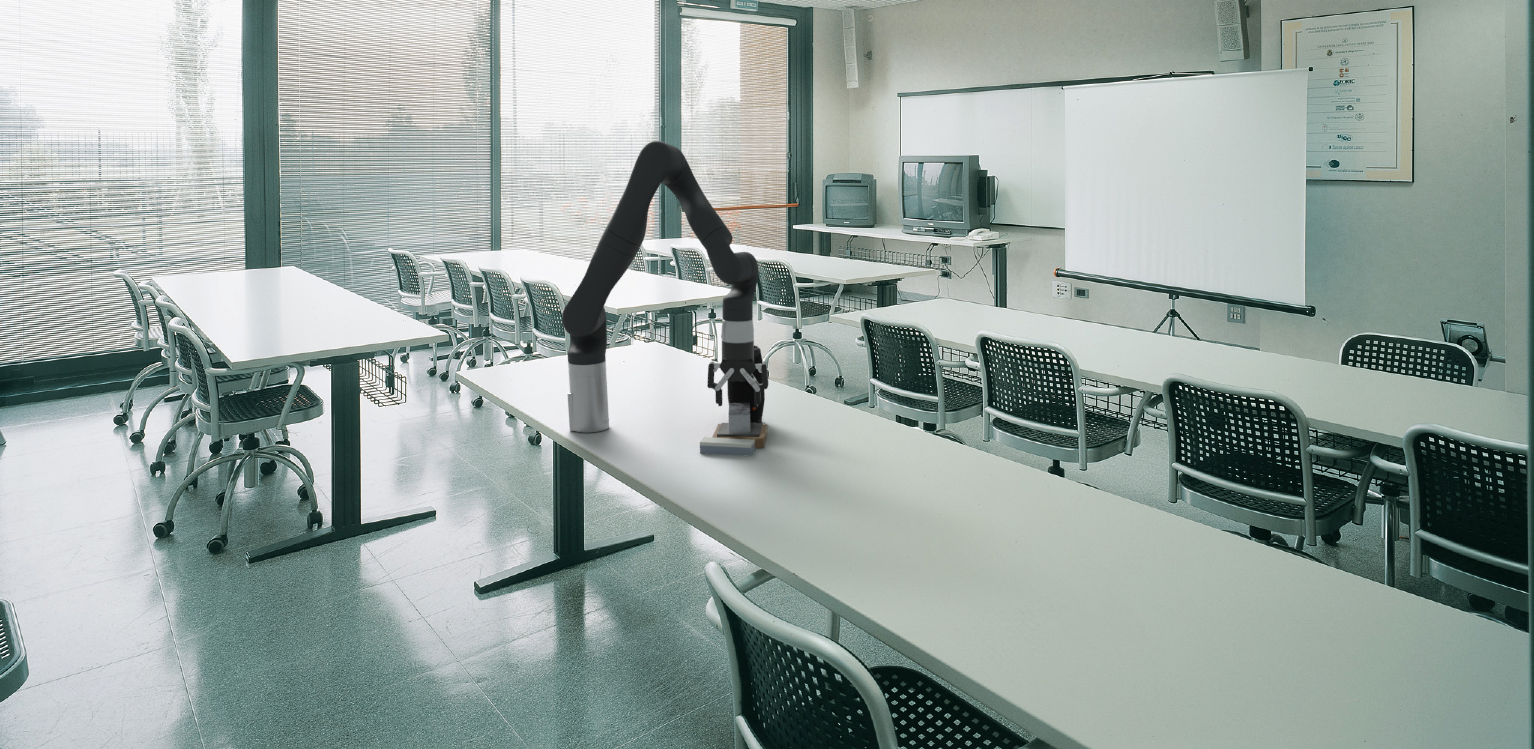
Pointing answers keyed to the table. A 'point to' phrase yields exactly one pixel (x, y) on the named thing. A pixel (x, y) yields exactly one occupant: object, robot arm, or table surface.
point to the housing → (739, 418)
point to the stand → (756, 433)
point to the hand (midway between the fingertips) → (738, 405)
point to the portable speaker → (748, 391)
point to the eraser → (727, 446)
